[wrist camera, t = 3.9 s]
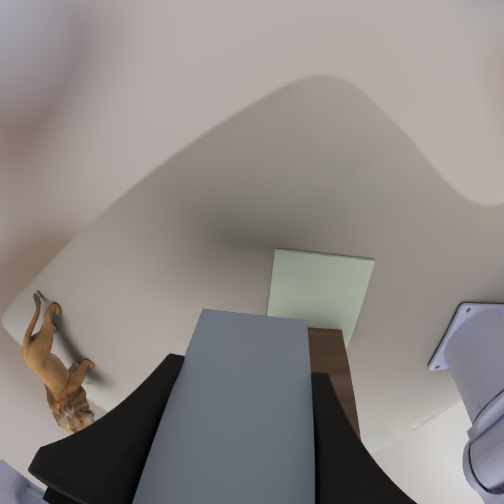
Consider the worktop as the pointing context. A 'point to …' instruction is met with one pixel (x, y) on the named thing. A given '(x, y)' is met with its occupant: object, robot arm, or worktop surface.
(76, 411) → the lion figurine
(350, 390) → the domino
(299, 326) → the domino
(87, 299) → the worktop surface
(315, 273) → the mat
